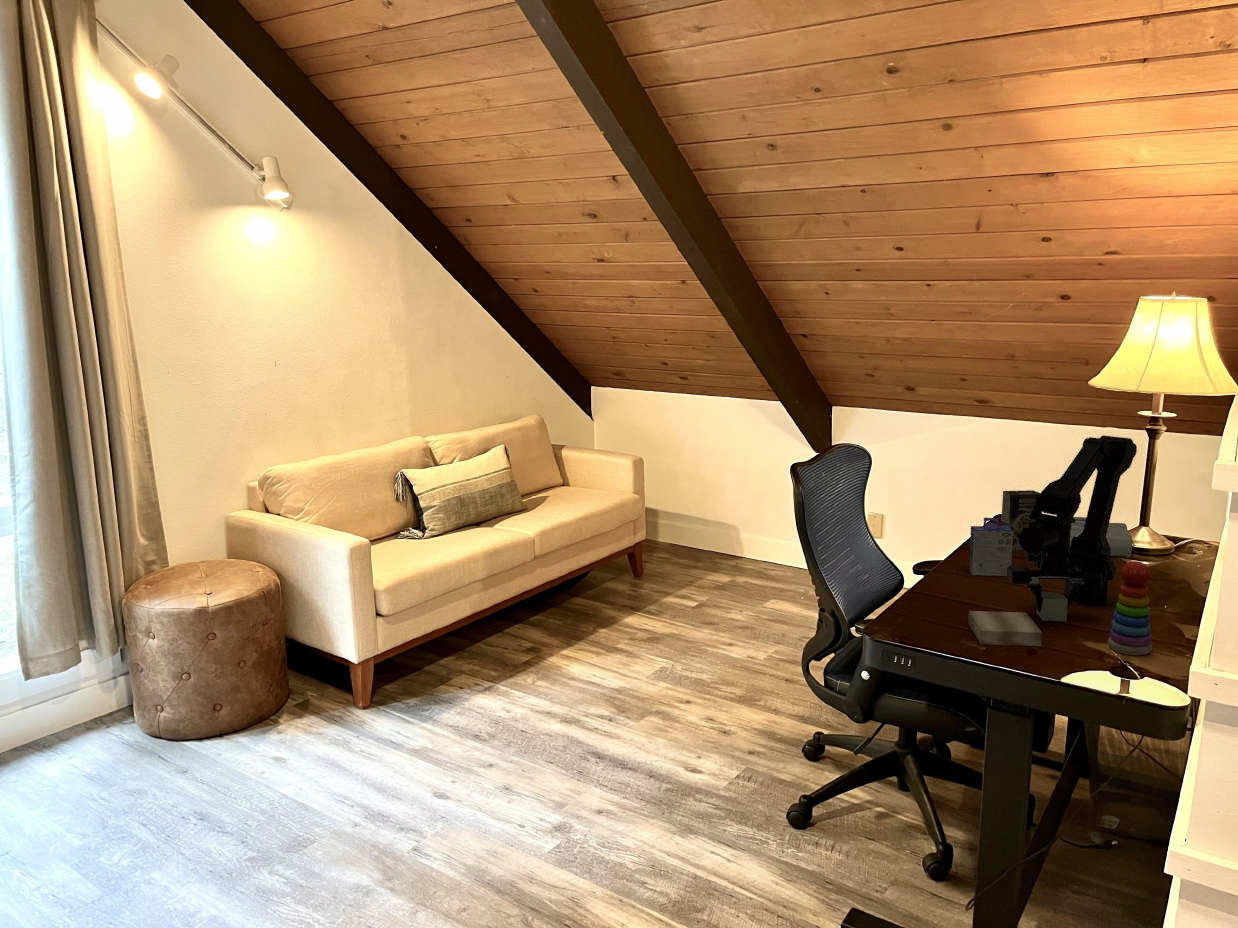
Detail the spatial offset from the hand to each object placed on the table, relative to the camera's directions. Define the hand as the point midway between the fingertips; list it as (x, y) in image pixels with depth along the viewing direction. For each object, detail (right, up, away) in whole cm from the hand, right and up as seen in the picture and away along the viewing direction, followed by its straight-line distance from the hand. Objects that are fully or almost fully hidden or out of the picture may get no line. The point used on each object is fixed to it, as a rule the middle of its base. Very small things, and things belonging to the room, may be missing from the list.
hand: (1051, 611), depth 206 cm
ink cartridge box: (-1, +5, +32) cm, 33 cm away
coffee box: (+17, +9, +54) cm, 58 cm away
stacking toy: (+7, -5, -19) cm, 21 cm away
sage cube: (0, -1, 0) cm, 1 cm away
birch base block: (-15, -3, -9) cm, 18 cm away
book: (+36, +9, +52) cm, 64 cm away
